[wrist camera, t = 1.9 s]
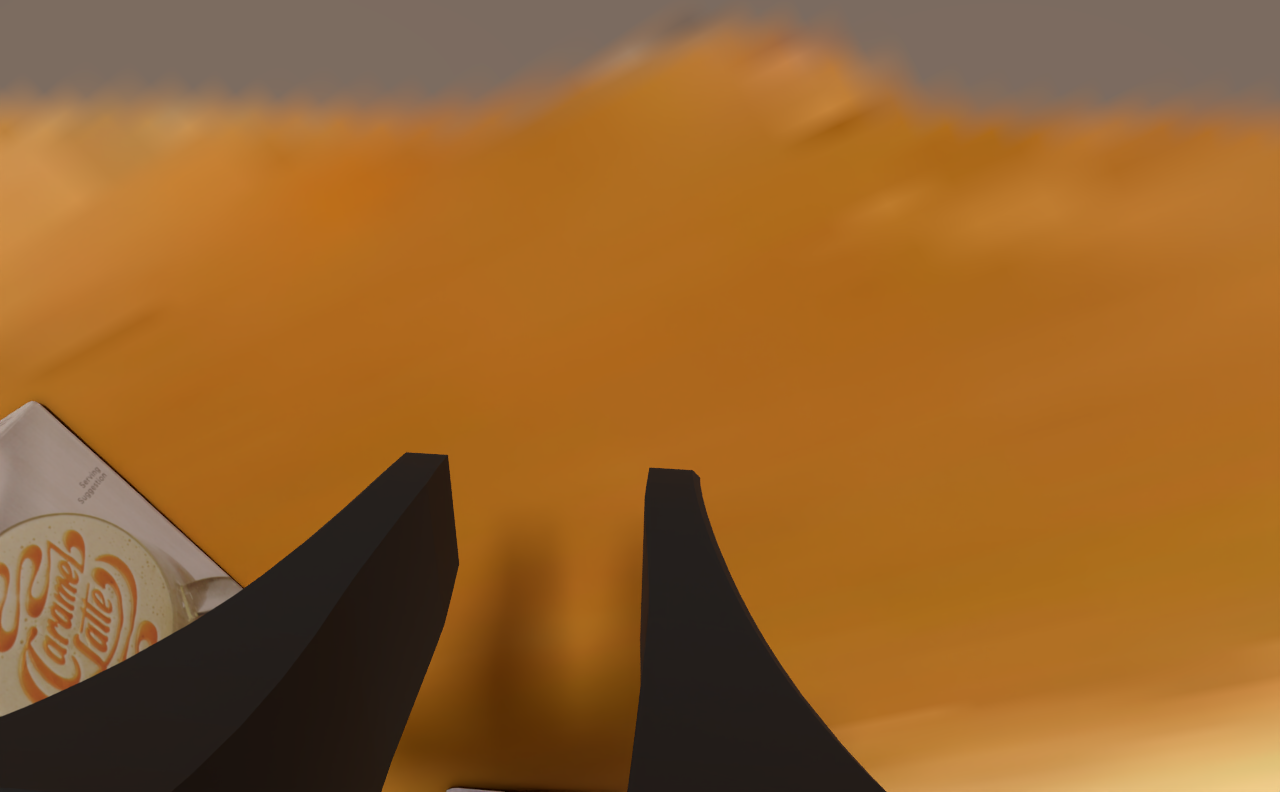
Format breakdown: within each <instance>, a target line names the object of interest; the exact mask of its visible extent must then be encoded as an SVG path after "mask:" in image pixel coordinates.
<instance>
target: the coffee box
mask: <svg viewBox="0 0 1280 792" xmlns="http://www.w3.org/2000/svg"><path fill="white" fill-rule="evenodd" d="M242 589H243V588H242V587H241V586H240V585H239V584H238V583H237V582H235V581H234V580H233V579H232V578H231V577H230V576H229V575H228V574H227V573H225V572H224V571H223V570H222V569H221V568H220V567H219V566H218V565H216V564H215V563H214V562H213V561H212V560H211V559H210V558H209V557H208V556H207V555H205V554H204V553H203V552H202V551H201V550H200V549H199V548H198V547H197V546H195V545H194V544H193V543H192V542H191V541H190V540H189V539H188V538H187V537H186V536H185V535H184V534H182V533H181V532H180V531H179V530H178V529H177V528H176V527H175V526H174V525H173V524H171V523H170V522H169V521H168V520H167V519H166V518H165V517H163V516H162V515H161V514H160V513H159V512H158V511H157V510H156V509H155V508H154V507H153V506H152V505H151V504H149V503H148V502H147V501H146V500H145V499H144V498H143V497H142V496H141V495H140V494H138V493H137V492H136V491H135V490H134V489H133V488H132V487H131V486H130V485H129V484H128V483H126V482H125V481H124V480H123V479H122V478H121V477H120V476H119V475H118V474H117V473H116V472H114V471H113V470H112V469H111V468H110V467H109V466H108V465H107V464H106V463H105V462H103V461H102V460H101V459H100V458H99V457H98V456H97V455H96V454H95V453H93V452H92V451H91V450H90V449H89V448H88V447H87V446H86V445H85V444H83V443H82V442H81V441H80V440H79V439H78V438H77V437H76V436H75V435H73V434H72V433H71V432H70V431H69V430H68V429H67V428H66V427H65V426H63V425H62V424H61V423H60V422H59V421H58V420H57V419H56V418H55V417H54V416H53V415H52V414H51V413H50V412H49V411H48V410H46V409H45V408H44V407H43V406H42V405H40V404H39V403H37V402H34V401H31V402H29V403H27V404H25V405H23V406H22V407H20V408H19V409H17V410H16V411H14V412H13V413H11V414H10V415H8V416H7V417H5V418H4V419H2V420H1V421H0V717H1V716H4V715H6V714H9V713H11V712H14V711H16V710H19V709H21V708H24V707H26V706H28V705H31V704H33V703H35V702H38V701H40V700H42V699H45V698H47V697H49V696H51V695H53V694H56V693H58V692H60V691H62V690H64V689H67V688H69V687H71V686H73V685H75V684H77V683H80V682H82V681H84V680H86V679H88V678H90V677H92V676H94V675H96V674H98V673H100V672H102V671H104V670H106V669H108V668H110V667H112V666H114V665H116V664H118V663H120V662H122V661H124V660H126V659H128V658H130V657H131V656H133V655H135V654H137V653H139V652H140V651H142V650H144V649H146V648H148V647H149V646H151V645H153V644H155V643H156V642H158V641H160V640H162V639H164V638H165V637H167V636H169V635H171V634H172V633H174V632H176V631H178V630H180V629H181V628H183V627H185V626H187V625H188V624H190V623H192V622H193V621H195V620H197V619H198V618H200V617H201V616H203V615H205V614H206V613H208V612H209V611H211V610H212V609H214V608H215V607H217V606H218V605H220V604H221V603H223V602H225V601H226V600H228V599H229V598H231V597H232V596H234V595H235V594H237V593H238V592H239V591H241V590H242Z"/></svg>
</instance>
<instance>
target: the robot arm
mask: <svg viewBox="0 0 1280 792" xmlns="http://www.w3.org/2000/svg"><path fill="white" fill-rule="evenodd" d="M458 566H459V558H458V548H457V539H456V529H455V520H454V510H453V500H452V491H451V481H450V471H449V462H448V455H439V454H423V453H407V452H406V453H405V454H404V455H403V456H402V457H400V458H399V459H398V460H397V461H396V462H395V463H393V464H392V465H391V466H390V467H389V468H388V469H387V470H386V471H384V472H383V473H382V474H381V475H380V476H379V477H378V478H377V479H376V480H375V481H373V482H372V483H371V484H370V485H369V486H368V487H367V488H366V489H365V490H364V491H362V492H361V493H360V494H359V495H358V496H357V497H356V498H355V499H354V500H353V501H351V502H350V503H349V504H348V505H347V506H346V507H345V508H344V509H343V510H341V511H340V512H339V513H338V514H337V515H336V516H334V517H333V518H332V519H331V520H330V521H329V522H328V523H326V524H325V525H324V526H323V527H322V528H321V529H319V530H318V531H317V532H316V533H315V534H314V535H312V536H311V537H310V538H309V539H308V540H307V541H305V542H304V543H303V544H302V545H300V546H299V547H298V548H296V549H295V550H294V551H293V552H291V553H290V554H289V555H288V556H286V557H285V558H284V559H282V560H281V561H280V562H279V563H277V564H276V565H275V566H274V567H272V568H271V569H270V570H268V571H267V572H266V573H265V574H263V575H262V576H261V577H259V578H258V579H256V580H255V581H254V582H252V583H251V584H250V585H248V586H247V587H245V588H244V589H242V590H241V591H239V592H238V593H237V594H235V595H234V596H232V597H231V598H229V599H228V600H226V601H225V602H223V603H221V604H220V605H218V606H217V607H215V608H214V609H212V610H211V611H209V612H208V613H206V614H205V615H203V616H201V617H200V618H198V619H197V620H195V621H193V622H192V623H190V624H188V625H187V626H185V627H183V628H181V629H180V630H178V631H176V632H174V633H172V634H171V635H169V636H167V637H165V638H164V639H162V640H160V641H158V642H156V643H155V644H153V645H151V646H149V647H148V648H146V649H144V650H142V651H140V652H139V653H137V654H135V655H133V656H131V657H130V658H128V659H126V660H124V661H122V662H120V663H118V664H116V665H114V666H112V667H110V668H108V669H106V670H104V671H102V672H100V673H98V674H96V675H94V676H92V677H90V678H88V679H86V680H84V681H82V682H80V683H77V684H75V685H73V686H71V687H69V688H67V689H64V690H62V691H60V692H58V693H56V694H53V695H51V696H49V697H47V698H45V699H42V700H40V701H38V702H35V703H33V704H31V705H28V706H26V707H24V708H21V709H19V710H16V711H14V712H11V713H9V714H6V715H4V716H1V717H0V792H381V791H382V788H383V785H384V782H385V779H386V776H387V773H388V770H389V767H390V764H391V761H392V759H393V756H394V753H395V751H396V748H397V746H398V743H399V741H400V738H401V736H402V733H403V730H404V728H405V725H406V723H407V720H408V718H409V715H410V713H411V710H412V707H413V705H414V702H415V700H416V697H417V695H418V692H419V690H420V687H421V684H422V682H423V679H424V677H425V674H426V672H427V669H428V666H429V664H430V661H431V659H432V656H433V653H434V651H435V648H436V646H437V643H438V640H439V638H440V635H441V632H442V630H443V627H444V624H445V620H446V616H447V612H448V608H449V604H450V600H451V596H452V592H453V588H454V583H455V579H456V575H457V570H458ZM640 658H641V687H640V696H639V705H638V713H637V721H636V729H635V737H634V746H633V754H632V762H631V769H630V776H629V784H628V791H627V792H886V791H885V790H884V789H883V788H882V787H881V786H880V785H879V784H878V783H877V782H876V781H875V780H874V779H873V778H872V777H871V776H870V775H869V774H868V772H867V771H866V770H865V769H864V768H863V767H862V766H861V765H860V764H859V763H858V761H857V760H856V759H855V758H854V757H853V756H852V755H851V754H850V753H849V752H848V751H847V749H846V748H845V747H844V746H843V745H842V744H841V743H840V742H839V740H838V739H837V738H836V737H835V735H834V734H833V733H832V732H831V730H830V729H829V728H828V727H827V725H826V724H825V723H824V722H823V720H822V719H821V718H820V717H819V715H818V714H817V713H816V712H815V711H814V709H813V708H812V707H811V706H810V704H809V703H808V702H807V701H806V699H805V698H804V697H803V696H802V694H801V693H800V691H799V690H798V689H797V687H796V686H795V684H794V683H793V681H792V680H791V679H790V677H789V676H788V674H787V673H786V671H785V670H784V669H783V667H782V666H781V664H780V663H779V661H778V660H777V658H776V656H775V655H774V653H773V652H772V650H771V649H770V647H769V645H768V644H767V642H766V641H765V639H764V637H763V636H762V634H761V632H760V631H759V629H758V627H757V625H756V623H755V622H754V620H753V618H752V616H751V614H750V613H749V611H748V609H747V607H746V605H745V603H744V601H743V599H742V597H741V595H740V593H739V591H738V589H737V587H736V585H735V583H734V581H733V579H732V577H731V575H730V572H729V570H728V568H727V565H726V563H725V561H724V558H723V556H722V554H721V551H720V549H719V546H718V544H717V541H716V539H715V536H714V533H713V530H712V527H711V524H710V521H709V518H708V515H707V512H706V508H705V505H704V501H703V497H702V491H701V486H700V477H699V476H698V475H697V474H696V473H695V472H694V471H693V470H679V469H663V468H649V473H648V479H647V486H646V492H645V507H644V539H643V570H642V602H641V633H640ZM446 792H503V791H490V790H478V789H466V788H451V789H449V790H447V791H446Z"/></svg>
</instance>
